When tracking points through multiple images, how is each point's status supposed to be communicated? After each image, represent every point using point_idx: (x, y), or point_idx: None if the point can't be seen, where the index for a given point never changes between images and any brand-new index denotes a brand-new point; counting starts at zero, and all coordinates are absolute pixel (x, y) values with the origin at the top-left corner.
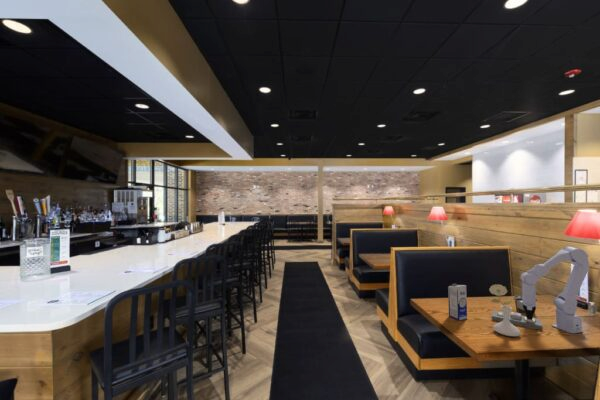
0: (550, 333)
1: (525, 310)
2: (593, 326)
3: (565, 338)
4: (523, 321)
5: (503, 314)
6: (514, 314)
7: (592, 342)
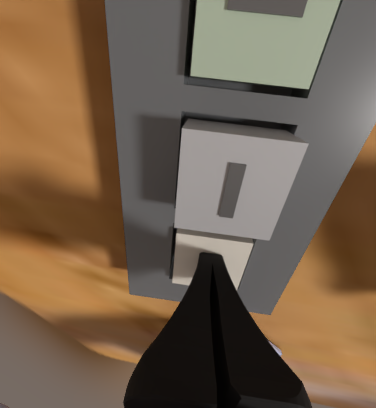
0: (118, 289)
1: (164, 330)
2: None
3: (99, 316)
4: (143, 215)
5: (234, 9)
6: (192, 172)
7: (125, 358)
